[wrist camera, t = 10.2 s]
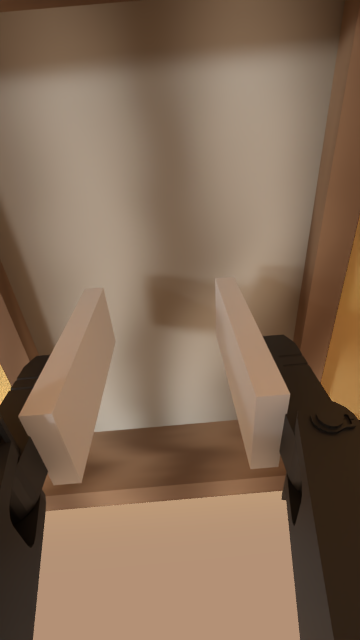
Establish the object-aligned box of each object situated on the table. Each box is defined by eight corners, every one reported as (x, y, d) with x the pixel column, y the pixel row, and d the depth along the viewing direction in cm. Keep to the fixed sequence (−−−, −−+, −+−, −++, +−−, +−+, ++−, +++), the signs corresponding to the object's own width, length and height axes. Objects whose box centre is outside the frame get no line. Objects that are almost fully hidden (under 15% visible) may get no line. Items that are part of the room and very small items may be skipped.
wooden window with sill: (57, 443, 21) (33, 511, 17) (-161, -38, 9) (-396, -163, 5) (298, 423, 21) (327, 486, 17) (399, -85, 9) (569, -244, 5)
